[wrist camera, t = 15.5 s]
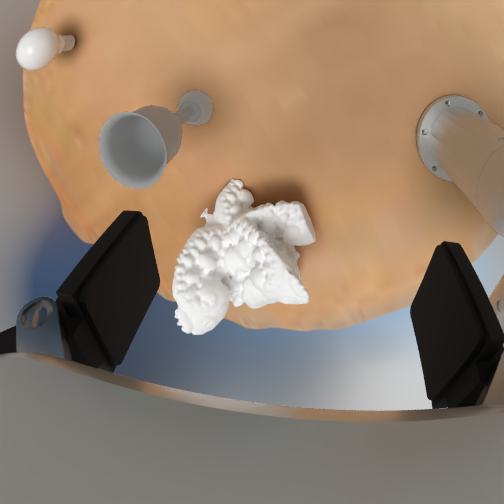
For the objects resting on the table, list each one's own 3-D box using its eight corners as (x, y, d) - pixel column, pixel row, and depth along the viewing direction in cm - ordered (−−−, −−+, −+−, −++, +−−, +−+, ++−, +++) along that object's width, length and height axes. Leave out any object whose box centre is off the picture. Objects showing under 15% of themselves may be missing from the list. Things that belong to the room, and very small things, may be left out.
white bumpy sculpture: (234, 344, 53) (159, 328, 36) (222, 241, 61) (158, 191, 44) (343, 320, 47) (315, 292, 30) (316, 210, 55) (279, 140, 38)
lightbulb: (68, 18, 31) (17, 23, 22) (93, 33, 33) (43, 39, 24) (51, 51, 34) (2, 64, 25) (75, 67, 36) (26, 82, 27)
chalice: (165, 91, 38) (87, 127, 24) (210, 76, 36) (148, 99, 22) (181, 138, 42) (117, 196, 28) (226, 126, 40) (178, 179, 26)
